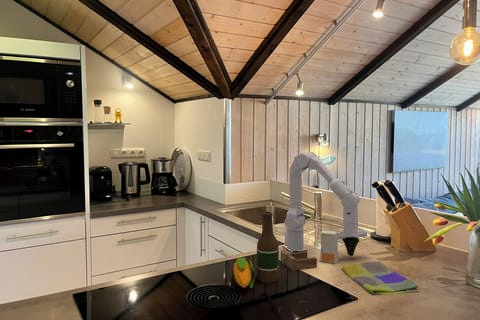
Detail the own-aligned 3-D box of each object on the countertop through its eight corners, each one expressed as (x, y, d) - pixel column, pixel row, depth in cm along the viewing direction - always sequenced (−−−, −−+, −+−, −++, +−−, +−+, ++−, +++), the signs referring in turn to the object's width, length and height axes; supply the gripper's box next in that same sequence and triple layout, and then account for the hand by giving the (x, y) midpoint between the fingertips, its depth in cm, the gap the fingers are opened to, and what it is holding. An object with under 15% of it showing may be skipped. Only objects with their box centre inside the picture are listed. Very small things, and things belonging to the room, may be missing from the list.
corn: (251, 252, 136) (256, 271, 116) (253, 272, 137) (258, 294, 117) (231, 254, 136) (233, 273, 116) (233, 274, 136) (235, 297, 116)
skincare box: (320, 261, 147) (320, 232, 146) (323, 258, 151) (323, 229, 150) (335, 264, 144) (335, 234, 143) (338, 260, 148) (337, 231, 147)
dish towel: (369, 297, 115) (369, 288, 115) (339, 270, 139) (339, 262, 139) (421, 293, 117) (421, 285, 117) (383, 267, 141) (383, 260, 141)
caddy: (280, 261, 148) (280, 250, 148) (304, 258, 151) (304, 247, 151) (293, 271, 137) (293, 259, 136) (318, 268, 139) (318, 256, 139)
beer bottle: (283, 278, 130) (282, 211, 128) (269, 285, 124) (269, 215, 123) (266, 273, 135) (265, 209, 134) (252, 279, 129) (251, 212, 128)
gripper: (340, 226, 143) (340, 260, 144) (371, 223, 148) (371, 256, 148) (330, 222, 150) (330, 254, 151) (361, 219, 154) (361, 251, 155)
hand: (350, 255), depth 150 cm, fingers closed
